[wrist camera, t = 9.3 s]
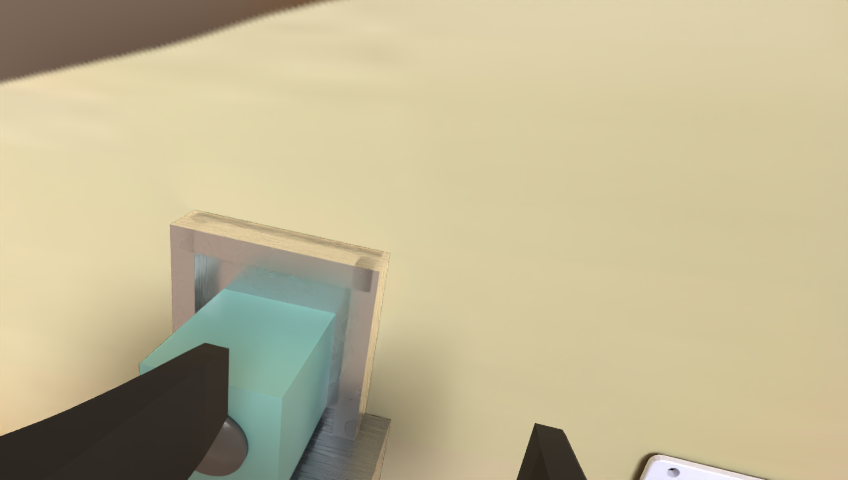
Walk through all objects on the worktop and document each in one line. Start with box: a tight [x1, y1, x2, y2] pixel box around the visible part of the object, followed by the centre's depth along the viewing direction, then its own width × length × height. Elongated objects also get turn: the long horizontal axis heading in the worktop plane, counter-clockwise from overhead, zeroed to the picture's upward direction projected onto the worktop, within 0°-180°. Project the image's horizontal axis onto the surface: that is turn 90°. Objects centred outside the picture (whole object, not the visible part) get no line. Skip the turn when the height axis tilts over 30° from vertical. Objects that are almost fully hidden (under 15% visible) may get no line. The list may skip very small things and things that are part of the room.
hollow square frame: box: [170, 210, 390, 480], centre depth 22 cm, size 12×16×6 cm
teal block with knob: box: [139, 289, 336, 480], centre depth 20 cm, size 5×5×6 cm
